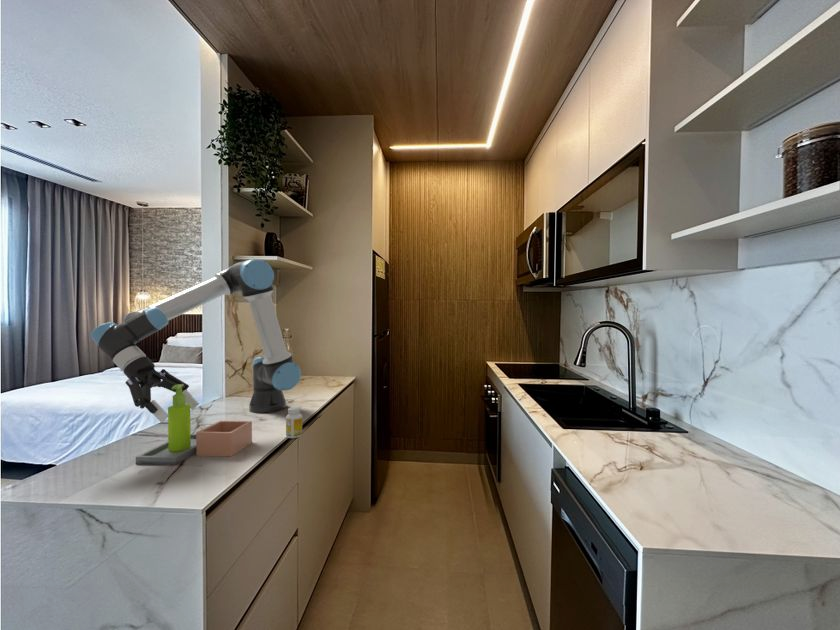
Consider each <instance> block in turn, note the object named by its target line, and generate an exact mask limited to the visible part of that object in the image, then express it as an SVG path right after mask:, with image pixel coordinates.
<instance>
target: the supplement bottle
mask: <svg viewBox="0 0 840 630" xmlns="http://www.w3.org/2000/svg"><path fill="white" fill-rule="evenodd" d="M287 413H288V414H287V415H286V416H285V436H286V438H287V439H296V438H300V437H302V435H303V414H302V413H301V407H299V406H293V407H292V406H291V407H288V409H287Z"/></svg>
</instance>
